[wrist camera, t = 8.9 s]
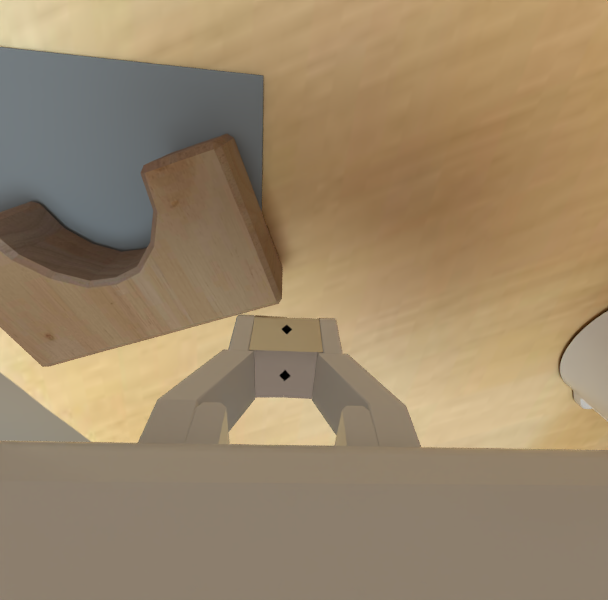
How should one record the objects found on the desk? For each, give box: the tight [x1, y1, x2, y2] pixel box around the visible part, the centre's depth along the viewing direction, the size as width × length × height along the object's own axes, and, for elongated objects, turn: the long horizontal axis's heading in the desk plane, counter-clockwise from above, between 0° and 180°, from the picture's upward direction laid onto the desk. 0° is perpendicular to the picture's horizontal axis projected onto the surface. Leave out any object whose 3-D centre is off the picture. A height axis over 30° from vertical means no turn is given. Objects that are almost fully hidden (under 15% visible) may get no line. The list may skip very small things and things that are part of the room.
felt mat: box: [0, 47, 263, 252], centre depth 22 cm, size 20×14×1 cm
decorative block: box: [0, 134, 282, 367], centre depth 23 cm, size 11×6×20 cm
